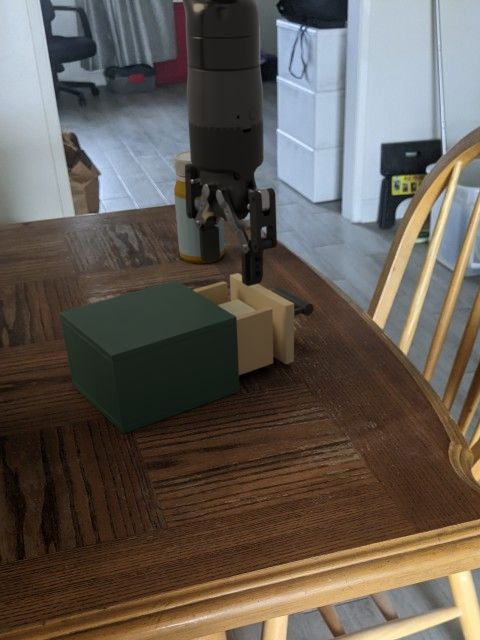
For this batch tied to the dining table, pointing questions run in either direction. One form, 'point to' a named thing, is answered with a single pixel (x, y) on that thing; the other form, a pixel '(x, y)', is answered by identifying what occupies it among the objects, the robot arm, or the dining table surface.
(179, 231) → the bottle
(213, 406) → the dining table surface
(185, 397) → the cabinet
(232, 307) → the block
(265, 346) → the drawer
